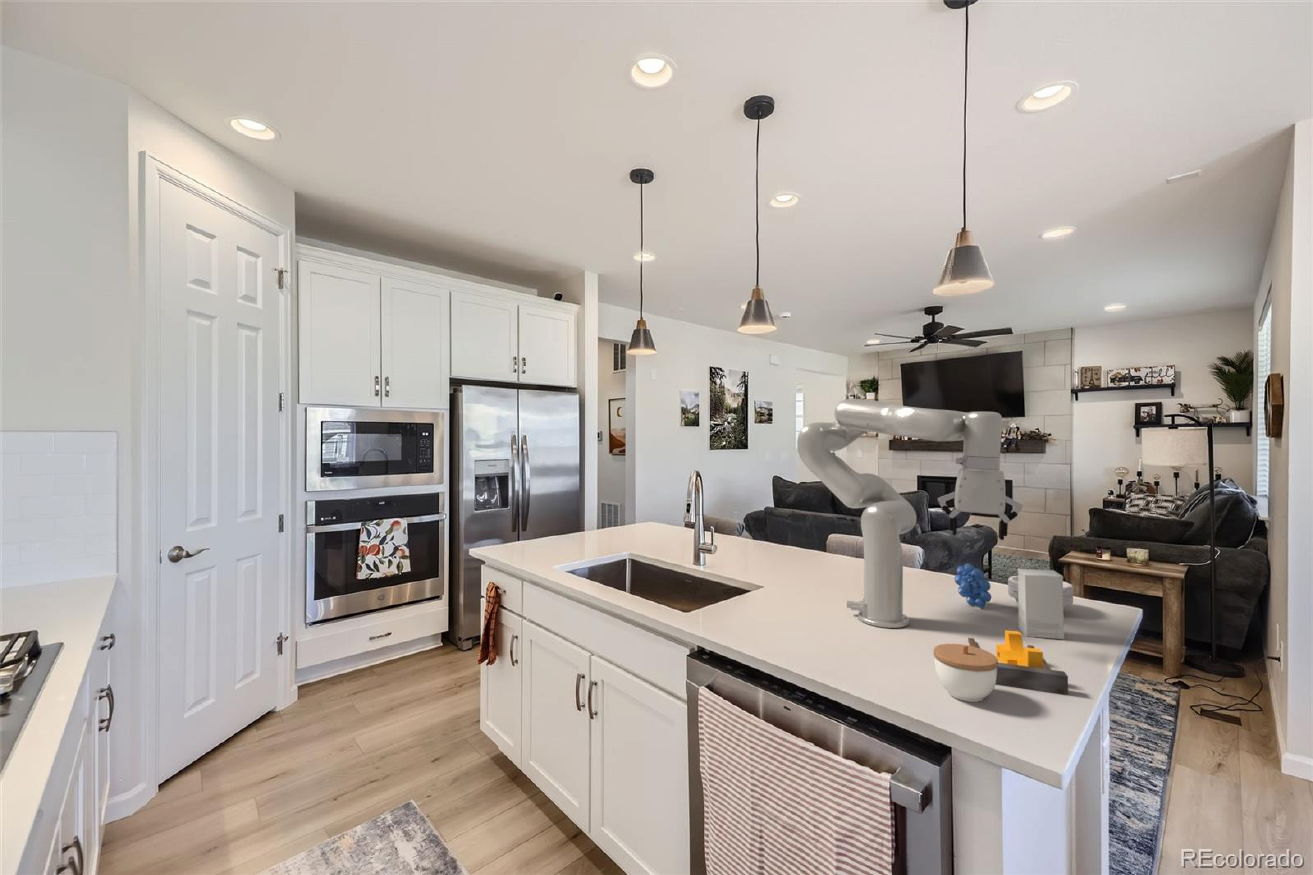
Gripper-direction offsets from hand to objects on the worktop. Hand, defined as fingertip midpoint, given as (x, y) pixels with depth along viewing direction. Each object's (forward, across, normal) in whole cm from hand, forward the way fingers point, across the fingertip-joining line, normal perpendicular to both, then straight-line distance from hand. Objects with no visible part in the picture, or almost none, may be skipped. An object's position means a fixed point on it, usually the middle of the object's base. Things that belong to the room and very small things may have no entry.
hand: (977, 536), depth 130 cm
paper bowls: (+26, +20, +38) cm, 50 cm away
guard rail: (+25, +6, -11) cm, 28 cm away
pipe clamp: (+25, +7, -13) cm, 30 cm away
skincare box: (+25, +16, +14) cm, 33 cm away
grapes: (+26, +2, +32) cm, 42 cm away
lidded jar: (+25, -4, -30) cm, 40 cm away
